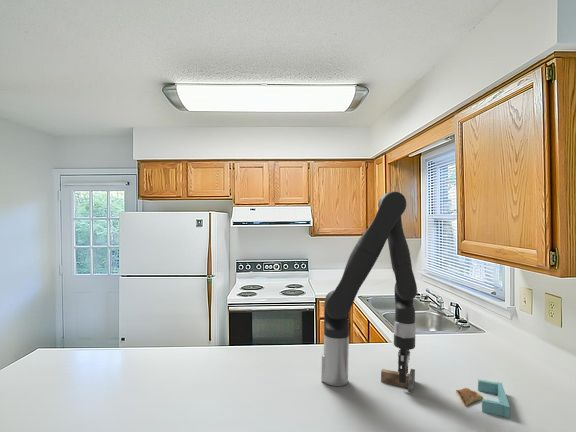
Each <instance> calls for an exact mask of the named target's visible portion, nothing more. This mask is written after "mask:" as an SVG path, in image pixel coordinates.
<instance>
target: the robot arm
mask: <svg viewBox="0 0 576 432" xmlns="http://www.w3.org/2000/svg"><path fill="white" fill-rule="evenodd" d="M377 207H378V209H377V212H376V214H375V216H374V219H373V220H372V222H371V223H370V225H369V226H368V228H366V229H365V231H364V232H363V234H362V235H361V236H360V237H359V239H358V240H357V242H356V243H355V246H354V247H353V249H352V251H351V252H350V255H349V256H348V259H347V262H346V264H345V267H344V271H343V274H342V277H341V278H340V280H339V283H338V284H337V286H336V287H335V289H334V290H331V291H330V292H328V293H327V294H326V296H325V298H324V305H323V307H324V309H323V310H324V311H323V312H324V314H323V316H324V317H323V354H322V356H321V382H324V383H325V384H326V385H330V386H333V387H341V386H345V385H347V384H348V382H349V355H350V353H349V350H350V349H349V348H350V347H349V346H350V325H349V324H350V323H349V315H350V314H349V313H350V311H351V309H352V306H353V304H354V302H355V299H356V297H357V294H358V292H359V290H360V288H361V286H362V285H363V283H364V282H365V281H366V279H367V278H368V276H369V274H370V273H371V271H372V269H373V267H374V266H375V264H376V262H377V260H378V258H379V257H380V255H381V252H382V250H383V248H384V246H385V244H386V242H387V243H388V250H389V257H390V264H391V269H392V272H393V275H394V279H395V284H394V302H395V303H394V304H395V311H394V326H393V346H394V347H395V348H398V349H399V350H398V353H397V357H398V359H397V360H398V361H397V365H398V366H397V367H398V368H397V372H399V382H400V383H405V382H406V373H407V374H409V363H410V359H411V351H410V350H414V349H415V348H416V310H415V306H414V299H415V298H416V297H417V294H418V286H417V281H416V278H415V275H414V274H415V273H414V272H413V268H412V267H413V264H412V259H411V252H410V248H409V244H408V241H407V240H406V236H405V232H404V228H403V223H402V222H403V221H402V216H403V214H404V213H405V211H406V208H407V198H406V197H405V196H404V195H403V193H401V192H399V191H388V192H386V193H383V194H382V195H381V196H380V198H379V199H378V202H377Z"/></svg>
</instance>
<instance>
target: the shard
mask: <svg viewBox="0 0 576 432" xmlns="http://www.w3.org/2000/svg"><path fill="white" fill-rule="evenodd" d="M455 392H456V394H457V396H459V399H460V401H461V403H462V404H463V406H464V407H468V406H469V405H471V404H473V403H475V402H477V401H480V400H482V399H484V397H483V395H481V394H480V393H479V392H477V391H475V390H472V389H470V388H467V387H464V388H460V389H456V390H455Z"/></svg>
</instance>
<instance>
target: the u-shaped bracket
mask: <svg viewBox="0 0 576 432" xmlns="http://www.w3.org/2000/svg"><path fill="white" fill-rule="evenodd" d="M477 391H479V392H482V393H488V394H494V395H497V397H498V401H497V400H496V401H495V400H491V399H490V400H489V399H486V398H482V399H481V412H482V413H487V414H491V415H495V416H501V417H504V418H507V419H510V418H511V415H510V414H511V406H510V403H509V400H508V397H507V394H506V391H505V389H504V385H503V383H502V382H499V381H498V382H496V381H489V380H484V379H477Z"/></svg>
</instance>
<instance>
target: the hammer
mask: <svg viewBox="0 0 576 432" xmlns="http://www.w3.org/2000/svg"><path fill="white" fill-rule="evenodd" d="M415 379H416V369H413V368H410V372H409V373H406V382H405V383H400V382H399V372H398V371H396V370H389V369H386V368H385V369H384V368H382V369H381V371H380V383H384V384H390V385H393V386H394V385H396V386H401V387H405V388H407V393H411V394H413V393H414V386H415V381H416V380H415Z"/></svg>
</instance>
